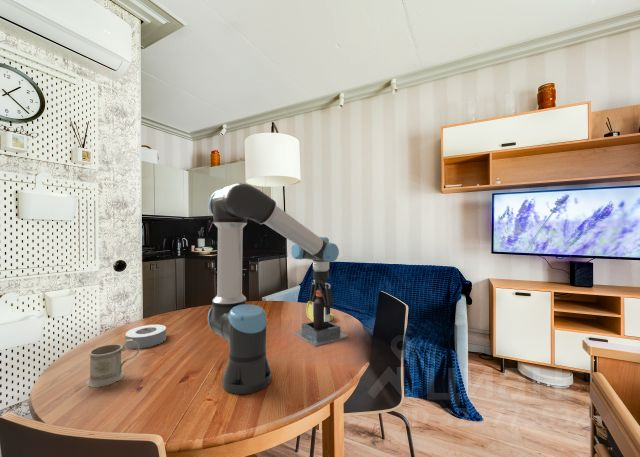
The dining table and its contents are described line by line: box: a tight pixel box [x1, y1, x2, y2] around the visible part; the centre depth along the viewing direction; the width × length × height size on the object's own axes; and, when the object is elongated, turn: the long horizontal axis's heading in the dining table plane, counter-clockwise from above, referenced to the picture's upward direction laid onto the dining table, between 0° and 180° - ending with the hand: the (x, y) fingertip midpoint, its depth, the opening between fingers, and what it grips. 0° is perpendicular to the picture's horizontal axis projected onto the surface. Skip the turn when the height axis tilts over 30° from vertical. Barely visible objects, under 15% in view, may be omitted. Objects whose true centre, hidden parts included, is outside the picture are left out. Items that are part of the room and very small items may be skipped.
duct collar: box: [294, 321, 349, 347], centre depth 130 cm, size 18×18×5 cm
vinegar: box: [313, 290, 328, 330], centre depth 130 cm, size 7×7×20 cm
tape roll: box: [124, 324, 167, 349], centre depth 123 cm, size 15×15×5 cm
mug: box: [85, 339, 141, 388], centre depth 92 cm, size 14×10×12 cm
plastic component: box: [305, 300, 335, 322], centre depth 158 cm, size 20×7×10 cm
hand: (320, 318), depth 131 cm, fingers open, 9 cm apart
